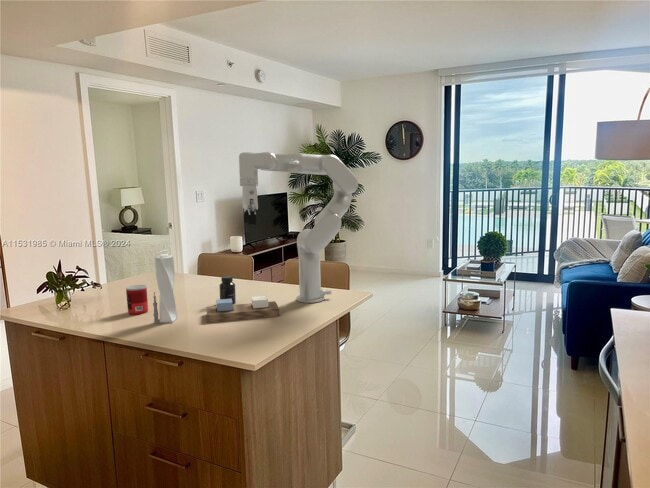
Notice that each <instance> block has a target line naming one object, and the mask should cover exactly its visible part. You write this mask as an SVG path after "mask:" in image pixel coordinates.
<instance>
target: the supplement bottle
mask: <svg viewBox="0 0 650 488" xmlns="http://www.w3.org/2000/svg"><path fill="white" fill-rule="evenodd" d="M233 280H234V279H233V276H232V275H224V276H221V282H220V283H219V285H218V286H219V288H218V289H219V300H221V299H232V304H233V305H236V298H237V297H236V284H235V282H233Z"/></svg>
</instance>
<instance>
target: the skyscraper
mask: <svg viewBox="0 0 650 488" xmlns="http://www.w3.org/2000/svg"><path fill="white" fill-rule="evenodd" d="M166 251H167V253H165V254H164V253H163V254H160V253H162V252H166ZM169 252H170V249H162V250H159V251H158V252H156V254H155V256H154V270H155V278H156V285H157V289H158V291H159V292H158V293H159V310H158V302H157V297H156V292H155V291H153V303H152V305H153V314H152V315H153V325H169V324H170V325H171V324H173V323H174V322H175V321H176V320H177V319H178V312H177V311H178V310H177V304H176V298H175V297H176V296H175V292H174V287H175V278H176V277H175V276H176V271H175V270H176V266H175V256H174V255H173V254H169ZM159 254H160V255H159ZM158 255H159V256H158ZM158 311H159V312H158Z"/></svg>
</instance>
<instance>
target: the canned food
mask: <svg viewBox="0 0 650 488" xmlns="http://www.w3.org/2000/svg"><path fill="white" fill-rule="evenodd" d="M125 292H126V293H125V294H126V304H127V312H128V315H130V316H138V315H139V316H140V315H143V314H146V313H148V311H149V303H148V291H147V285H145V284H135V285H134V284H133V285H130V286H127V287H126V288H125Z"/></svg>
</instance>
